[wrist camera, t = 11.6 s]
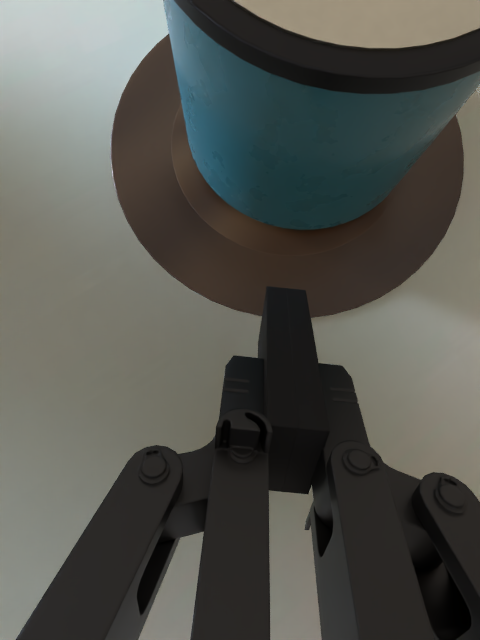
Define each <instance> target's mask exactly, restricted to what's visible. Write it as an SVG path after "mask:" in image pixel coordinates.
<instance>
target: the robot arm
mask: <svg viewBox="0 0 480 640" xmlns="http://www.w3.org/2000/svg"><path fill="white" fill-rule="evenodd" d="M357 401H358V400H357V396H356V393H355V389H354V385H353V381H352V378H351V376H350V375H349V374H348V373H347V371H346V370H345V369H344V367H343V366H341V365H331V364H321V363H318V358H317V352H316V346H315V340H314V335H313V329H312V323H311V317H310V311H309V305H308V300H307V294H306V290H300V289H290V288H281V287H271V286H266V293H265V300H264V307H263V314H262V321H261V328H260V334H259V341H258V358H252V357H243V356H233V357H232V358H231V360H230V361H229V362H228V364H227V365H226V368H225V376H224V384H223V392H222V399H221V407H220V415H219V420H218V423H217V426H216V435H215V437H214V438H213V440H212V441H211V442H210V443H209V444H208V445H206V446H204V447H203V448H201V449H198V450H195V451H192V452H187V453H182V454H177V453H176V451H174V450H172V449H170V448H168V447H165V446H158V445H155V446H150V447H145V448H143V449H142V450H140V451H138V452H136V453H135V454H134V455H133V456H132V457H131V458H130V460H129V461H128V462H127V464H126V465H125V467H124V468H123V470H122V472H121V473H120V475H119V476H118V478H117V480H116V481H115V483H114V484H113V486H112V487H111V489H110V491H109V492H108V494H107V495H106V497H105V499H104V500H103V502H102V503H101V505H100V507H99V508H98V510H97V511H96V513H95V514H94V516H93V518H92V519H91V521H90V522H89V524H88V526H87V527H86V529H85V530H84V532H83V534H82V535H81V537H80V538H79V540H78V541H77V543H76V545H75V546H74V548H73V549H72V551H71V553H70V554H69V556H68V557H67V559H66V561H65V562H64V564H63V565H62V567H61V568H60V570H59V572H58V573H57V575H56V576H55V578H54V580H53V581H52V583H51V584H50V586H49V587H48V589H47V591H46V592H45V594H44V595H43V597H42V599H41V600H40V602H39V603H38V605H37V607H36V608H35V610H34V611H33V613H32V614H31V616H30V618H29V619H28V621H27V622H26V624H25V626H24V627H23V629H22V630H21V632H20V634H19V635H18V637H17V638H16V640H138V638H139V636H140V633H141V631H142V629H143V626H144V624H145V621H146V619H147V617H148V614H149V612H150V609H151V607H152V605H153V602H154V600H155V597H156V595H157V593H158V590H159V588H160V585H161V583H162V581H163V578H164V576H165V573H166V571H167V569H168V566H169V564H170V561H171V559H172V557H173V554H174V552H175V549H176V547H177V545H178V542H179V540H180V538H181V537H184V536H188V535H192V534H196V533H200V532H203V531H204V536H203V544H202V552H201V559H200V567H199V575H198V583H197V591H196V599H195V607H194V615H193V623H192V631H191V639H190V640H270V570H269V490H271V491H281V492H291V493H301V494H309V491H310V488H311V485H312V490H313V503H312V506H311V508H310V511H309V514H308V517H307V519H306V524H305V530H309V529H310V526H311V530H312V541H313V551H314V562H315V573H316V583H317V594H318V604H319V615H320V626H321V636H322V640H480V502H479V500H478V499H477V498H476V496H475V495H474V494H473V493H472V491H471V490H470V489H469V488H468V487H467V486H466V485H465V484H463V483H462V482H461V481H459V480H458V479H456V478H455V477H452V476H450V475H447V474H444V473H435V472H433V473H430V474H427V475H425V476H424V477H423V479H422V480H420V479H417V478H414V477H412V476H409V475H407V474H404V473H402V472H399V471H397V470H395V469H393V468H391V467H389V466H388V465H386V464H385V463H383V461H382V459H381V457H380V456H379V455H378V454H377V453H376V451H375V450H374V449H373V448H371V447H370V444H369V442H368V438H367V434H366V430H365V427H364V423H363V419H362V415H361V412H360V408H359V404H358V403H357Z"/></svg>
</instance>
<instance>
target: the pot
mask: <svg viewBox="0 0 480 640" xmlns="http://www.w3.org/2000/svg"><path fill="white" fill-rule="evenodd" d="M163 2H164V7H165V13H166V19H167V24H168V30H169V35H170V41H171V47H172V52H173V58H174V64H175V69H176V75H177V80H178V86H179V92H180V97H181V103H182V108H183V114H184V120H185V125H186V131H187V136H188V142H189V146H190V149H191V153H192V156H193V159H194V161H195V163H196V165H197V167H198V169H199V171H200V173H201V174H202V176H203V177H204V179H205V180H206V182H207V183H208V184H209V185H210V187H211V188H212V189H213V190H214V191H215V192H216V194H218V195H219V196H220V197H221V198H222V199H223V200H224V201H225V202H227V203H228V204H229V205H231V206H232V207H234V208H235V209H236V210H238V211H239V212H241V213H243V214H245V215H247V216H249V217H251V218H253V219H255V220H258V221H260V222H263V223H266V224H268V225H273V226H277V227H281V228H288V229H297V230H312V229H322V228H328V227H333V226H337V225H340V224H344V223H346V222H349V221H351V220H354V219H356V218H358V217H360V216H362V215H363V214H365V213H367V212H369V211H370V210H372V209H373V208H374V207H376V206H377V205H378V204H379V203H381V202H382V201H383V200H384V199H385V198H386V197H387V196H388V195H389V194H390V193H391V191H392V190H393V189H394V188H395V187H396V186H397V184H398V183H399V182H400V181H401V180H402V178H403V177H404V176H405V175H406V173H407V172H408V171H409V170H410V169H411V167H412V166H413V165H414V164H415V163H416V161H417V160H418V159H419V158H420V156H421V155H422V154H423V153H424V152H425V150H426V149H427V148H428V147H429V146H430V144H431V143H432V142H433V141H434V139H435V138H436V137H437V136H438V135H439V133H440V132H441V131H442V130H443V129H444V127H445V126H446V125H447V124H448V123H449V121H450V120H451V119H452V118H453V116H454V115H455V114H456V113H457V112H458V110H459V109H460V108H461V107H462V106H463V104H464V103H465V102H466V101H467V99H468V98H469V97H470V96H471V95H472V93H473V92H474V91H475V90H476V89H477V87H478V86H479V85H480V0H163Z"/></svg>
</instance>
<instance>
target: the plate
mask: <svg viewBox="0 0 480 640" xmlns="http://www.w3.org/2000/svg"><path fill="white" fill-rule="evenodd" d="M110 157H111V166H112V175H113V181H114V185H115V189H116V193H117V196H118V200H119V202H120V205H121V207H122V210H123V212H124V214H125V217H126V219H127V221H128V223H129V225H130V226H131V228H132V230H133V231H134V233H135V235H136V236H137V238H138V240H139V241H140V242H141V244H142V245H143V246H144V247H145V249H146V250H147V251H148V252H149V254H150V255H151V256H152V257H153V259H155V260H156V261H157V262H158V263H159V264H160V265H161V266H162V267H163V268H164V269H165V270H166V271H167V272H168V273H169V274H170V275H172V276H173V277H174V278H176V279H177V280H178V281H180V282H181V283H183V284H184V285H185V286H187V287H188V288H189V289H191V290H193V291H195V292H196V293H198V294H200V295H202V296H204V297H206V298H208V299H209V300H211V301H214V302H216V303H219V304H221V305H224V306H227V307H229V308H232V309H234V310H238V311H242V312H246V313H250V314H254V315H259V316H262V314H263V307H264V300H265V293H266V286H271V287H281V288H290V289H300V290H306V294H307V300H308V305H309V311H310V317H311V318H313V317H319V316H326V315H333V314H337V313H340V312H344V311H347V310H351V309H354V308H357V307H360V306H362V305H364V304H366V303H369V302H371V301H373V300H375V299H378V298H380V297H381V296H383V295H385V294H386V293H388V292H389V291H391V290H393V289H394V288H396V287H398V286H399V285H400V284H402V283H403V282H404V281H405V280H406V279H408V278H409V277H410V276H411V275H412V274H414V273H415V272H416V271H417V270H418V269H419V268H420V267H421V266H422V265H423V264H424V262H425V261H426V260H427V259H428V258H429V257H430V256H431V255H432V254H433V252H434V251H435V249H436V248H437V246H438V245H439V243H440V242H441V240H442V239H443V237H444V236H445V234H446V231H447V229H448V227H449V225H450V223H451V221H452V219H453V217H454V214H455V211H456V207H457V204H458V201H459V198H460V194H461V187H462V180H463V165H464V153H463V145H462V138H461V132H460V128H459V124H458V121H457V117H456V114H455V115H454V116H453V118H452V119H451V120H450V121H449V123H448V124H447V125H446V126H445V127H444V129H443V130H442V131H441V132H440V133H439V135H438V136H437V137H436V138H435V139H434V141H433V142H432V143H431V144H430V146H429V147H428V148H427V149H426V150H425V152H424V153H423V154H422V155H421V156H420V158H419V159H418V160H417V161H416V163H415V164H414V165H413V166H412V167H411V169H410V170H409V171H408V172H407V173H406V175H405V176H404V177H403V178H402V180H401V181H400V182H399V183H398V184H397V186H396V187H395V188H394V189H393V190H392V191H391V193H390V194H389V195H388V196H387V197H386V198H385V199H384V200H383V201H382V202H381V203H379V204H378V205H377V206H376V207H374V208H373V209H372V210H370V211H369V212H367V213H365V214H363V215H362V216H360V217H358V218H356V219H354V220H351V221H349V222H346V223H344V224H340V225H337V226H333V227H328V228H322V229H312V230H297V229H288V228H281V227H277V226H273V225H268V224H266V223H263V222H260V221H258V220H255V219H253V218H251V217H249V216H247V215H245V214H243V213H241V212H239V211H238V210H236V209H235V208H234V207H232V206H231V205H229V204H228V203H227V202H225V201H224V200H223V199H222V198H221V197H220V196H219V195H218V194H216V192H215V191H214V190H213V189H212V188H211V187H210V185H209V184H208V183H207V182H206V180H205V179H204V177H203V176H202V174H201V173H200V171H199V169H198V167H197V165H196V163H195V161H194V159H193V156H192V153H191V149H190V146H189V142H188V136H187V131H186V125H185V120H184V114H183V108H182V103H181V97H180V92H179V86H178V80H177V75H176V69H175V64H174V58H173V52H172V47H171V41H170V35H169V34H168V35H167V36H166V37H164V38H163V39H162V40H161V41H160V42H159V43H157V44H156V45H155V47H154V48H153V49H152V50H151V51H150V52H149V53H148V54H147V55H146V56H145V58H144V59H143V60H142V61H141V63H140V64H139V66H138V67H137V69H136V70H135V71H134V73H133V74H132V76H131V78H130V80H129V82H128V83H127V85H126V87H125V89H124V91H123V93H122V96H121V99H120V102H119V105H118V108H117V110H116V113H115V118H114V123H113V129H112V134H111V156H110Z"/></svg>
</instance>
